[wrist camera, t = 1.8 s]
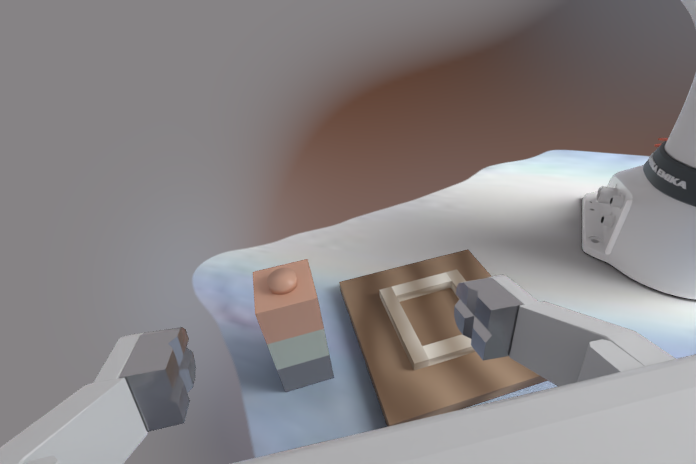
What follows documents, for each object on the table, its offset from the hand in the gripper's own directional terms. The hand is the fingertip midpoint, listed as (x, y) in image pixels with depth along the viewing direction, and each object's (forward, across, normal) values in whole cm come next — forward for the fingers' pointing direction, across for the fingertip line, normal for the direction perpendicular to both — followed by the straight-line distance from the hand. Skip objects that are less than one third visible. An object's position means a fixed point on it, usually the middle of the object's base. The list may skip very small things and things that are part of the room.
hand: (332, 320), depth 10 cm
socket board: (+20, -14, +19) cm, 31 cm away
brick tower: (+20, +1, +21) cm, 29 cm away
